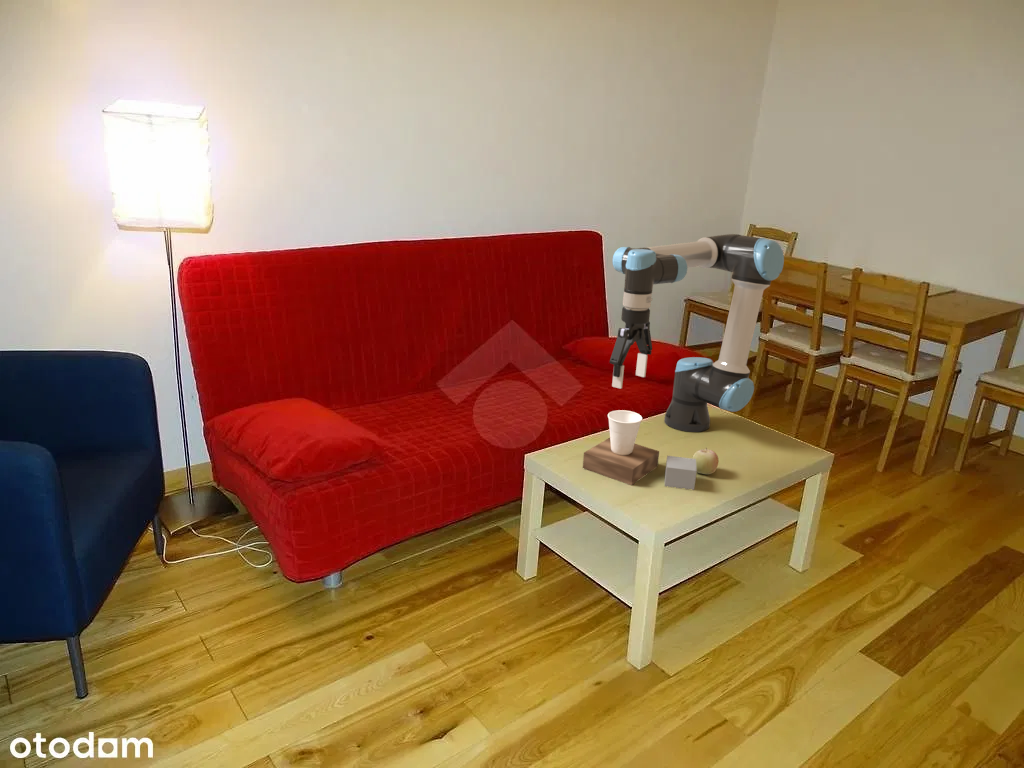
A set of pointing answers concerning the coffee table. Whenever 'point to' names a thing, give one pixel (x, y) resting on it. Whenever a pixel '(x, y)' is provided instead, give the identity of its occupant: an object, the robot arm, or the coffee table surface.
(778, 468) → the coffee table surface
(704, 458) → the fruit
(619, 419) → the cup
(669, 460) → the grey block
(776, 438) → the coffee table surface
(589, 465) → the walnut block
